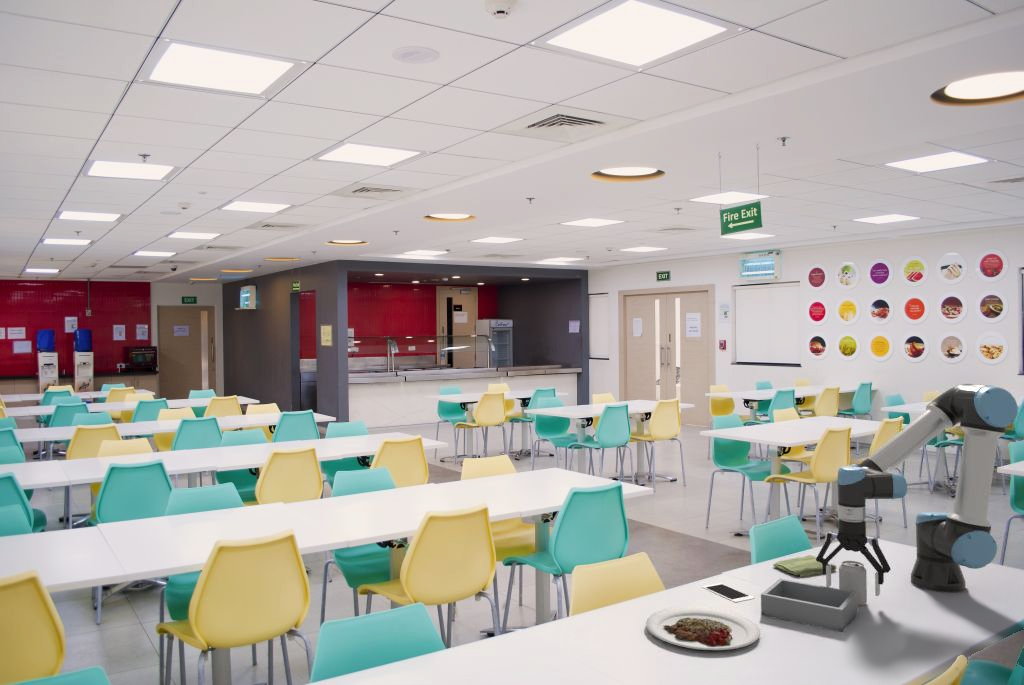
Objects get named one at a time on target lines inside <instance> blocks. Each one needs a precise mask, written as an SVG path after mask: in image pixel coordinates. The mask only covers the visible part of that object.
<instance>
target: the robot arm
mask: <svg viewBox="0 0 1024 685" xmlns="http://www.w3.org/2000/svg"><path fill="white" fill-rule="evenodd" d="M1018 411H1019V409H1018V403H1017V400H1016V398H1015V396H1014V395H1013V394H1012V393H1011V392H1009V391H1008V389H1005V388H1003V387H999V386H998V387H997V386H994V385H985V384H984V385H983V384H973V383H962V384H957V385H956V386H953V387H951V388H948V390H946V391H945V392H942V393H941V394H940V395H938V396H937V397H936V398H934V399H933V400H932V401H931V402H929V403H928V404H927V405H926V406H925V410H924V411H923V413H922V414H920V415H919V416H917V417H916V418H915V419H914V420H913V421H911V422H910V423H909V424H908V425H907V426H905V427H904V428H903V429H902V430H900V431H899V432H897V433H896V435H895V434H894V436H893V437H892V438H890V439H889V440H887V442H885V443H884V444H883V445H882V446H881V447H879V448H878V449H876V450H875V451H874V452H873V453H872V454H870V455H869V456H868V457H867V458H866V459H865V460H863V461H861V462H860V463H853V464H850V465H848V466H846V465H845V466H841V467H839V468H838V471H837V478H836V479H837V481H836V483H837V515H838V516H837V517H838V518H839V519H837V521H838V522H837V528H838V531H837V533H834V532H833V531H829V532H828V533H827V534H826V540H825V542H824V543H823V546H821V549H820V551H819V553H818V555H817V556H816V557H817V558H816V561H817V562H820V563H822V565H823V574H822V575H823V576H825V582H826V583H825V585H826V586H825V587H830V588H831V586H832V572H831V564H829V563H830V561H831V560H833V558H835V556H837V554H838V553H839V552H840V551H841V550H842V549H844V550H845V551H848V552H849V551H852V552H855V553H857V552H860V553H861V554H862V555H863V557H865V559H866V560H867V561H868V562H869V563H870V564H871V566H872V567H873V568H874V570H875V571H876V572H875V573H874V587H875V588H874V593H875V594H874V595H875V597H879V596H880V594H881V585H883V584H884V582H885V575H884V574H885V573H887V574H888V573H889V572H890V571H891V566H890V565H889V563H888V560H887V559H886V557H885V554H884V553H883V551H882V549H881V547H880V545H879V540H878V538H877V537H873V538H868V537H867V526H866V523H867V522H866V517H867V516H866V515H867V514H866V513H867V511H866V507H867V506H866V500H890V499H891V500H896V499H903V498H905V496H906V495H907V492H908V483H907V480H906V478H905V476H904V475H903V474H902V473H900V472H898V473H897V472H893V471H894V470H895V469H896V468H898V467H899V466H900V465H902V464H903V463H904V462H905V461H906V460H907V459H909V458H910V457H911V456H912V455H914V454H915V453H917V452H918V451H919V450H920V449H921V448H922V447H924V446H925V445H927V444H928V443H929V442H930V441H931V440H932V439H934V438H935V437H936V436H938V435H939V434H940V433H942V432H943V431H944V430H946V429H948V430H951V429H952V428H953V427H955V426H956V425H958V424H959V423H960V425H959V427H960V429H961V430H962V432H964V437H963V443H962V450H961V457H960V464H959V471H958V476H957V481H956V482H957V484H956V489H955V495H954V503H953V510H952V511H951V512H948V511H923V512H919V513H917V514H916V518H915V535H916V536H915V537H916V542H915V543H916V559H915V562H914V565H913V568H912V570H911V573H910V583H911V584H912V585H913V586H916V587H918V588H921V589H924V590H926V591H927V590H929V591H932V592H937V593H938V592H941V593H959V592H963V591H964V590H966V580H965V579H966V578H965V577H964V574H963V571H962V569H961V567H966V568H968V569H972V570H975V569H976V570H977V569H981V568H985V567H986V566H988V565H989V564H991V563H992V562H993V561H994V560H995V557H996V555H997V551H998V545H997V541H996V540H995V539H994V537H993V535H991V531H992V530H991V529H992V524H991V522H990V521H989V520H988V518H987V516H988V509H989V502H990V495H991V489H992V483H993V477H994V476H993V475H994V469H995V461H996V456H997V448H998V443H999V439H1000V438H1001V437H1003V436H1004V435H1006V431H1007V427H1008V426H1010V425H1012V423H1014V421H1015V420H1016V418H1017V417H1018ZM834 540H837V541H838V542H839V545H837V547H835V549H833V550H832V551H831V552H830V553H829V555H828V556H826V557H825V558H824V556H825V555H826V553H827V551H828V549H829V547H830V546H831V544H832V542H833V541H834ZM867 544H869V545H870V546H871V547H872V549H873V552H874V554H875V555H876V558H877V559H876V558H875V557H874V555H872V553H871V552H870V550H869V548H868V547H867V546H866V545H867ZM878 560H879V561H878Z"/></svg>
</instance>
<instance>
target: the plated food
mask: <svg viewBox="0 0 1024 685" xmlns="http://www.w3.org/2000/svg"><path fill="white" fill-rule="evenodd" d="M645 624H646V625H645V626H646V629H647V631H648V632H649V633H650V634H652V635H653V636H654V637H655V638H657V639H659V640H661V641H664V642H666V643H668V644H672V645H675V646H679V647H683V648H688V649H692V650H704V651H724V650H725V651H727V650H728V651H729V650H735V649H740V648H744V647H747V646H749V645H752V644H753V643H755V642H756V641H757V640H759V638H760V636H761V629H760V627H759V626H758V624H757V623H756V622H754V621H753V620H752V619H750V618H748V617H746V616H744V615H742V614H739V613H736V612H733V611H731V610H727V609H722V608H717V607H710V606H700V605H699V606H698V605H697V606H695V605H689V606H688V605H687V606H675V607H669V608H664V609H661V610H657V611H655V612H654V613H652V614H650V616H649V617H647V618H646V621H645Z"/></svg>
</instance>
